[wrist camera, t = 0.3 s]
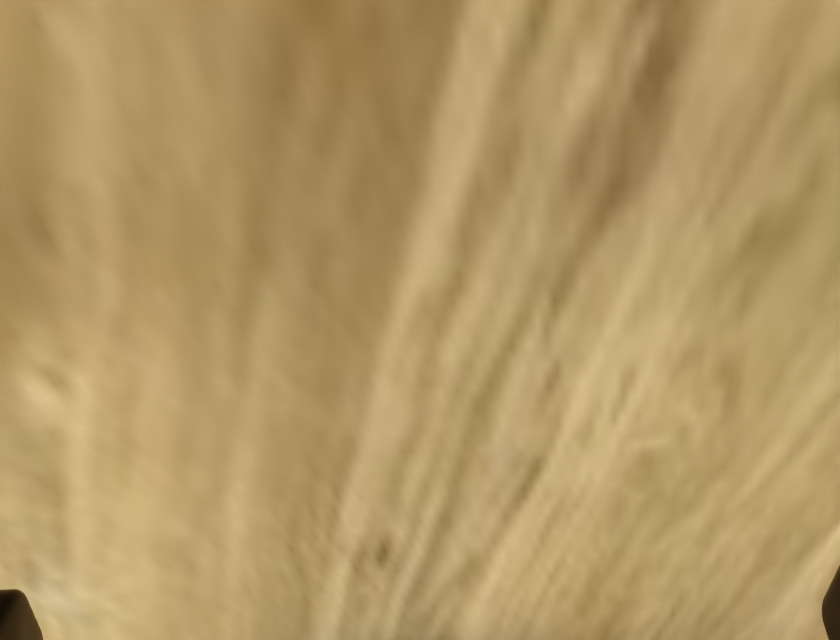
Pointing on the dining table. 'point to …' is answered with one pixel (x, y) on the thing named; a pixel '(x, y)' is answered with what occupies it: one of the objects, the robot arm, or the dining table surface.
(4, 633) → the robot arm
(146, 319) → the dining table surface
